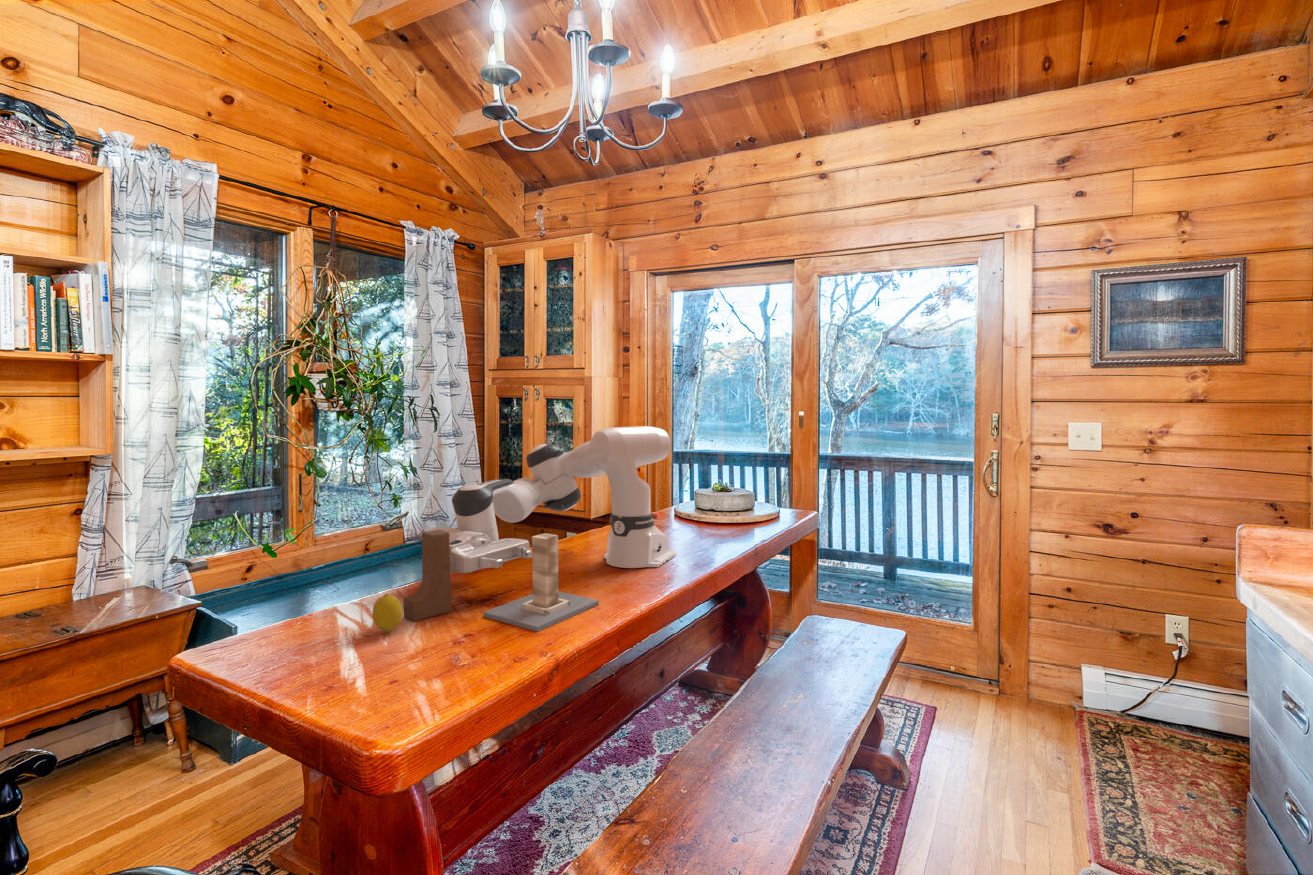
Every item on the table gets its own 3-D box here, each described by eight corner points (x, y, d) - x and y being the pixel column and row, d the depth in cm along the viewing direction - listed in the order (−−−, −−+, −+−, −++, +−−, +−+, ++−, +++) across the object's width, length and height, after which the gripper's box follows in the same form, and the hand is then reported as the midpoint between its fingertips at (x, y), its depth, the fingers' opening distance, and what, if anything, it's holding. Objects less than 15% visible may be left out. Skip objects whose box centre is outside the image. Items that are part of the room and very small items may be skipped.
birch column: (545, 602, 145) (544, 533, 144) (558, 605, 143) (558, 535, 142) (532, 607, 142) (532, 536, 140) (546, 611, 139) (545, 538, 138)
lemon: (373, 629, 131) (372, 591, 130) (402, 625, 133) (401, 588, 133) (373, 639, 126) (371, 599, 125) (403, 635, 128) (402, 596, 128)
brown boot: (412, 622, 135) (410, 538, 134) (403, 617, 138) (400, 535, 137) (451, 612, 142) (450, 532, 140) (441, 607, 145) (439, 529, 143)
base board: (546, 592, 155) (546, 584, 155) (598, 604, 147) (598, 596, 147) (483, 616, 139) (483, 607, 139) (537, 631, 130) (537, 622, 130)
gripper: (506, 554, 162) (546, 562, 155) (439, 573, 145) (481, 583, 138) (505, 530, 162) (546, 537, 154) (438, 546, 145) (481, 555, 137)
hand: (515, 559), depth 146 cm, fingers open, 8 cm apart
